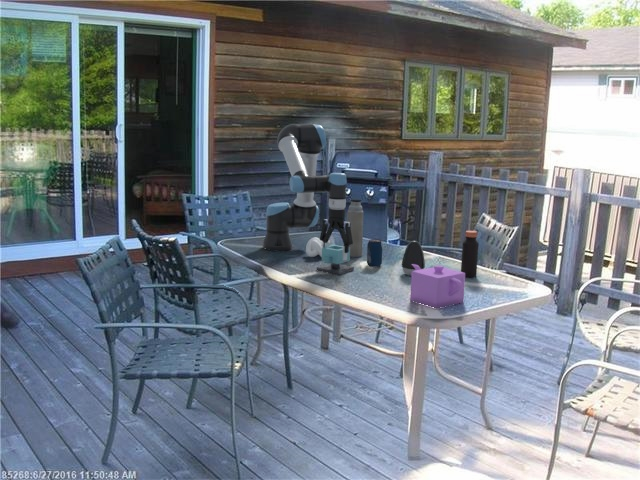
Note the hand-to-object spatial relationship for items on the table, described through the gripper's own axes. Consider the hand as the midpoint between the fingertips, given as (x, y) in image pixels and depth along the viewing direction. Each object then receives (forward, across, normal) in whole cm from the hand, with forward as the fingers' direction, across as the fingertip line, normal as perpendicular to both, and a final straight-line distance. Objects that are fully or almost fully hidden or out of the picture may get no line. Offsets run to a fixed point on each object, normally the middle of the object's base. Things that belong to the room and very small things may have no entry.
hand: (335, 258), depth 290 cm
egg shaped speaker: (+6, +30, +17) cm, 35 cm away
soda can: (+6, +8, +20) cm, 22 cm away
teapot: (+6, +57, -15) cm, 59 cm away
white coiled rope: (+6, -24, +18) cm, 31 cm away
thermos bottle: (+6, -12, +33) cm, 36 cm away
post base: (+6, 0, 0) cm, 6 cm away
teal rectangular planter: (+1, 0, 0) cm, 1 cm away
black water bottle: (+6, +50, +31) cm, 59 cm away
